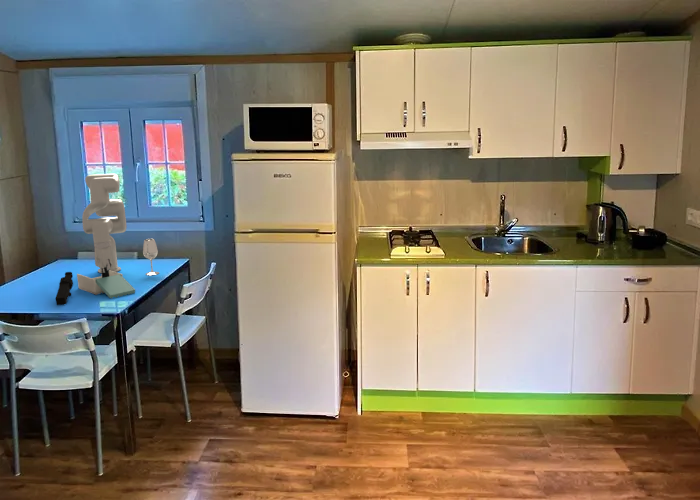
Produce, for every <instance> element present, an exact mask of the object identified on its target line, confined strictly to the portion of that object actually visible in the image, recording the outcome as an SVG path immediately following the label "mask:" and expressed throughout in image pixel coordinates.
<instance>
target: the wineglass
mask: <svg viewBox="0 0 700 500" xmlns="http://www.w3.org/2000/svg"><path fill="white" fill-rule="evenodd" d="M157 246H158V245H157V242H156V241H155V239H154V238H145V239H144V240H143V247H142V249H143V250H142V253H143V256H144V257H145V258H146V259H148V260H149V261H150V268H151V270H150V272H146V273H145V276H156V275H159V274H160V272H159V271H154V269H153V260H154V259H155V258H156V257H157V255H158V252H159V251H158V247H157Z"/></svg>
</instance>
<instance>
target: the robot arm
mask: <svg viewBox="0 0 700 500" xmlns="http://www.w3.org/2000/svg"><path fill="white" fill-rule="evenodd" d="M84 180H85V184H86V186H87V188H88V189H89V193H90V194H89V195H90V203H89V204H87V206H86V207H85V208H84V211H82V218H81V219H82V230H83V232H84V233H85V234H88V235H92V239H93V246H94V265H95V267H97V268H98V269H97V272H98V273H100V274H102V278H104V277H109V270H111V271H114V272H117V273H118V272H119V271H121V270H122V268H121V267H120V266H119V265H118V258H117V247H116V240H115V239H114V237H113V236H112V234H122V233H125V232H126V231H127V228H128V227H127V226H128V225H127V219H126V217H127V216H126V210H125V204H124V202H123V200H122V199H118V198H115V199H111V198H110V194H114V193H115V194H116V193H118V192H119V191H120V184H121V182H120V178H119V175H118V174H116V173H100V174H89V175H86V176H85V178H84ZM93 214H96V216H98V217H100V218H90V216H92V215H93Z"/></svg>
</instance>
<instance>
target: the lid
mask: <svg viewBox="0 0 700 500" xmlns="http://www.w3.org/2000/svg"><path fill="white" fill-rule="evenodd" d="M95 281H96V284H97V285H98V286H99V287H100V288H101V289H102V290H103V291H104V292H105V293H104V294H106V296H107V297H108V298H109V299H110V298H111V299H114V298H113V297H115V298H119V297H123V295H124V296H128V295H132V294H135V293H136V289H135V288H134V287H133V286H132V285H131V284H130V283H129V282H128V281H127V279H125V278H124V277H122V276H121V275H120V274H119V275H114V276H109V277H104V278H99V279H96V280H95ZM127 294H128V295H127ZM118 296H119V297H118Z"/></svg>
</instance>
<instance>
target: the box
mask: <svg viewBox="0 0 700 500" xmlns="http://www.w3.org/2000/svg"><path fill="white" fill-rule="evenodd" d="M100 274H101V276H100V275H99V276H97V277H92V278H91V277H90V276H86V275H83V274H80V273H76V278H77V285H78V289H79V290H81V291H85V292H87V293H91V294H93V295H95V296H96V295H101V293H102V294H106V293H105V292H104V291H103V290H102V289H101V288H100V287H99V286H98V285H97V284H96V281H95V280H96V279H99V278H102V273H100ZM119 274H120V275H121V276H122V277H123V276H124V275H123V273H120V272H118V271H117V272H114V271H111V270H109V276H114V275H119ZM123 278H124V277H123Z"/></svg>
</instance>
